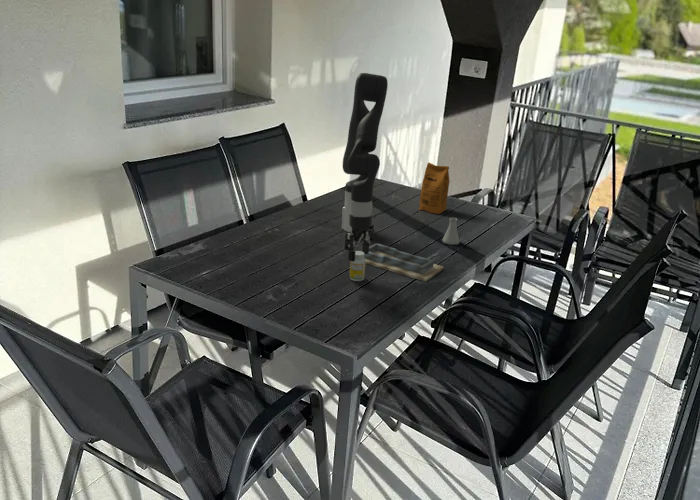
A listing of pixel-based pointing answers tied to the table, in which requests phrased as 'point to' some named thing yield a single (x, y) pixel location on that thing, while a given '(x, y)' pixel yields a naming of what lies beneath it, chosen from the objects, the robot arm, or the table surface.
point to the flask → (451, 233)
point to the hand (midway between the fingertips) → (358, 257)
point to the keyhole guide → (401, 262)
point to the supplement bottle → (358, 267)
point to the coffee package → (434, 189)
